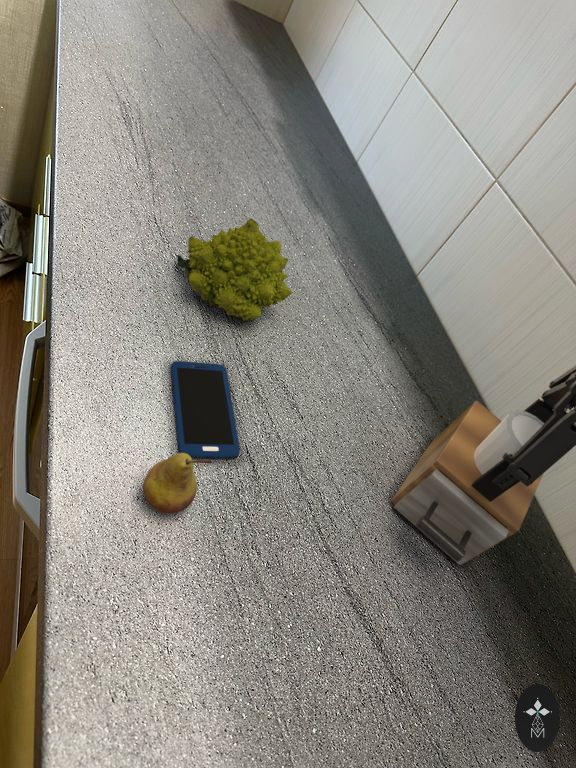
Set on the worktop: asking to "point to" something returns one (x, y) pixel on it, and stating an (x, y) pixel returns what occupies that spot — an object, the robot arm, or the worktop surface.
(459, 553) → the drawer
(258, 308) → the vegetable
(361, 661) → the worktop surface
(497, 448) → the white cup
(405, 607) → the worktop surface
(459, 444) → the cabinet
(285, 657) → the worktop surface
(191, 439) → the cell phone
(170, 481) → the fruit
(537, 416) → the robot arm
